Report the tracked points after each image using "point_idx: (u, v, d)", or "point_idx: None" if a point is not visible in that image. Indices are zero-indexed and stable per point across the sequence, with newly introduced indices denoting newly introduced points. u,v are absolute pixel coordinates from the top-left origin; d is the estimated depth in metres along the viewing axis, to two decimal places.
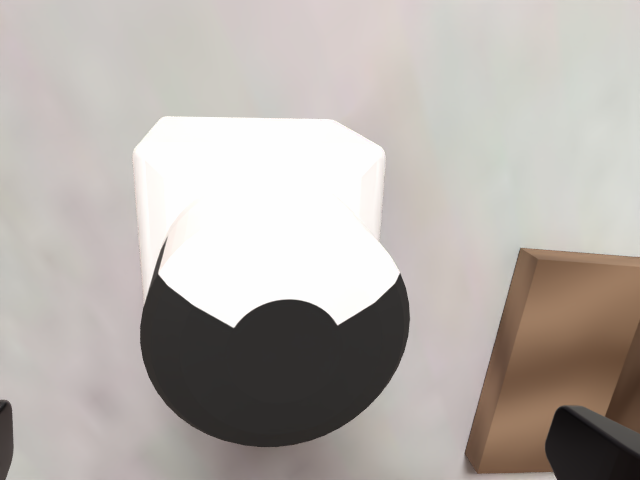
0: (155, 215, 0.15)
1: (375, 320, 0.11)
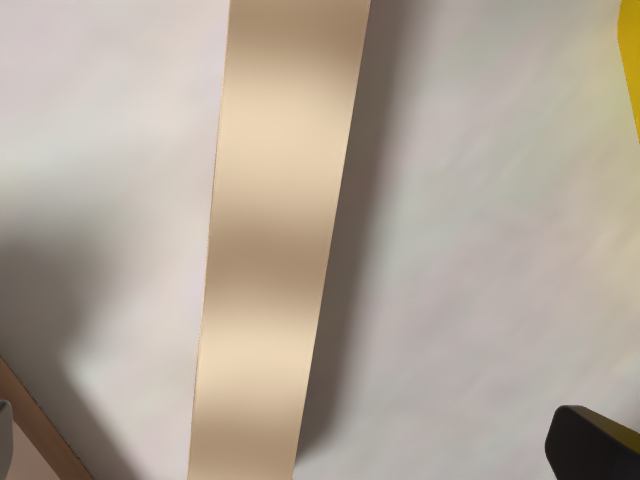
0: None
1: None
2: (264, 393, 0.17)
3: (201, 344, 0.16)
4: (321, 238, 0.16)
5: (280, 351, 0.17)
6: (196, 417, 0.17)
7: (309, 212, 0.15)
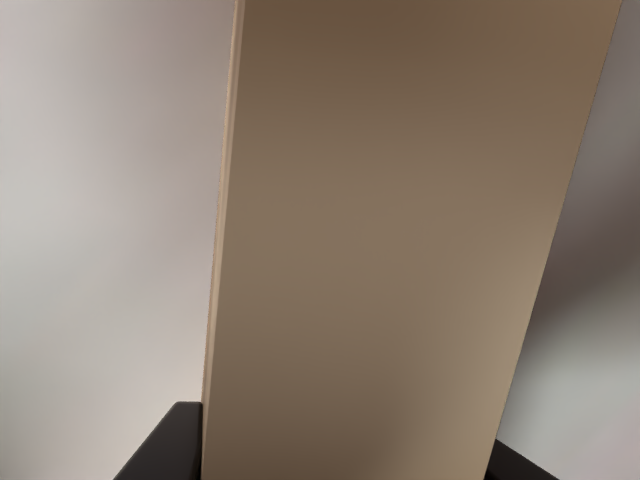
0: None
1: None
2: None
3: None
4: None
5: None
6: None
7: (436, 444, 0.06)
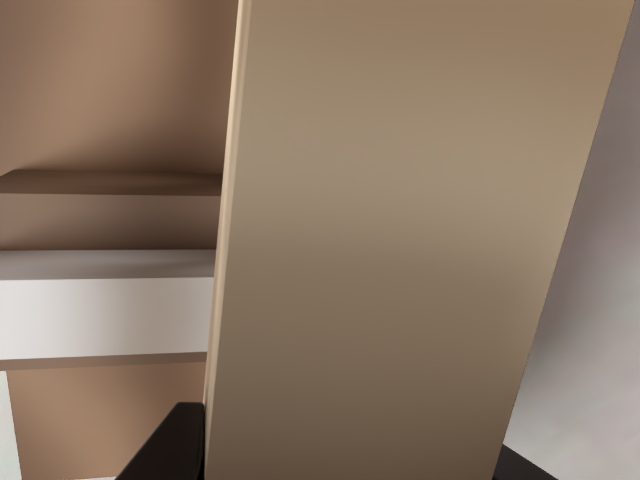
0: None
1: None
2: None
3: None
4: None
5: None
6: None
7: (443, 446, 0.06)
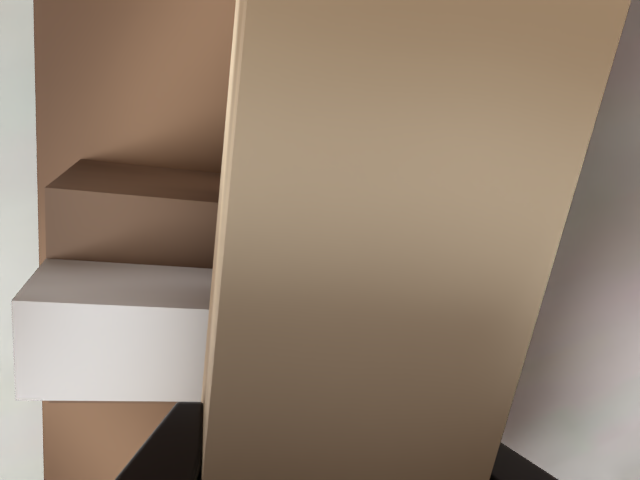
0: None
1: None
2: None
3: None
4: None
5: None
6: None
7: (440, 445, 0.06)
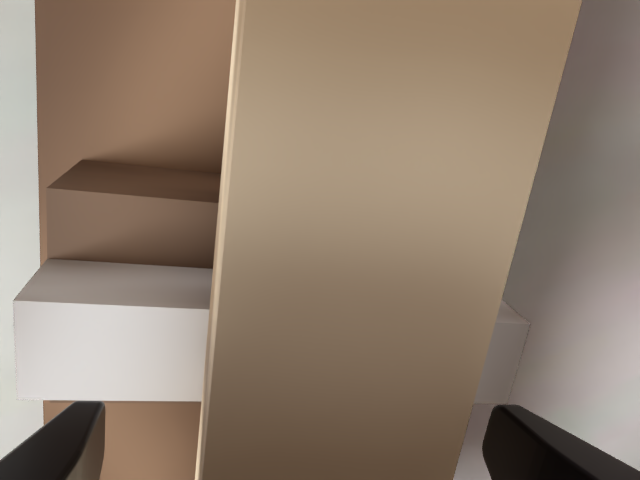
0: None
1: None
2: None
3: None
4: (439, 451, 0.07)
5: None
6: None
7: (419, 405, 0.07)
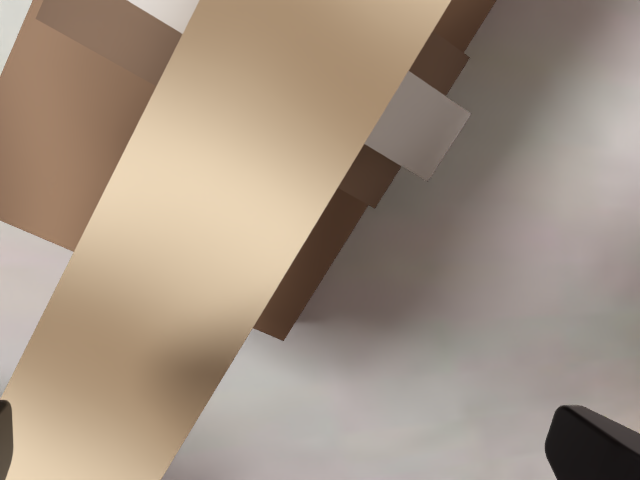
0: None
1: None
2: (199, 282, 0.10)
3: (128, 146, 0.09)
4: (401, 48, 0.09)
5: (253, 218, 0.10)
6: (67, 276, 0.09)
7: None
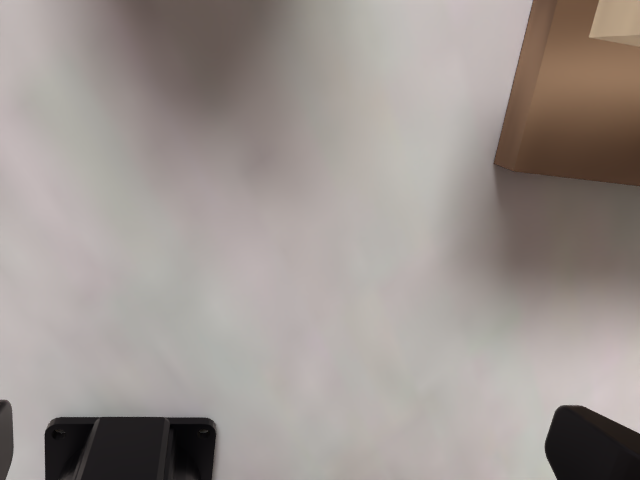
0: None
1: None
2: None
3: None
4: None
5: None
6: None
7: None
